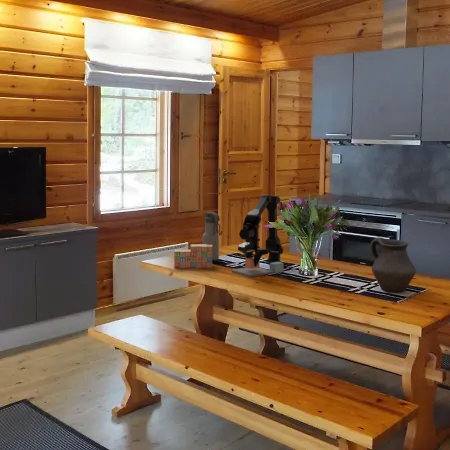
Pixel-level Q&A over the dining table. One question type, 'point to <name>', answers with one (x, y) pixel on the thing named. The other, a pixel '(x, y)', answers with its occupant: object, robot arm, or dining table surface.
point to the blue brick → (276, 267)
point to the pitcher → (392, 265)
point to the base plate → (252, 272)
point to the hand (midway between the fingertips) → (252, 265)
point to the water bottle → (212, 233)
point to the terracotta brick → (251, 263)
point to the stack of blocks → (194, 257)
